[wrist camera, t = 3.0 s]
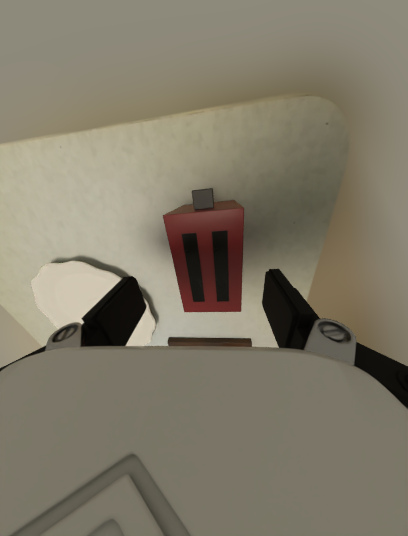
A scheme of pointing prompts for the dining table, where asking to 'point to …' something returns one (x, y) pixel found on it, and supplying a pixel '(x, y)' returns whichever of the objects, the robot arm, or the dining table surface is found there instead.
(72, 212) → the dining table surface
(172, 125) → the dining table surface
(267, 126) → the dining table surface
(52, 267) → the plate
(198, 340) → the board
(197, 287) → the toaster
